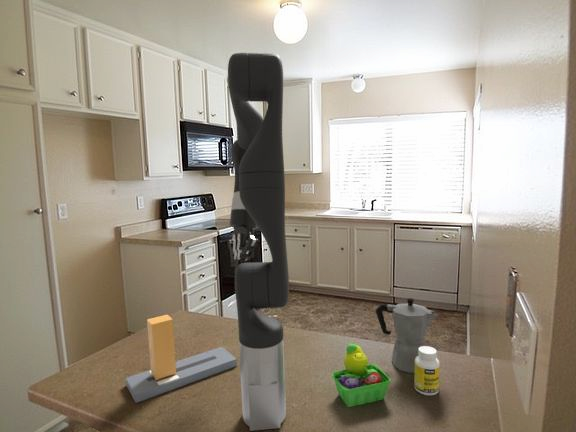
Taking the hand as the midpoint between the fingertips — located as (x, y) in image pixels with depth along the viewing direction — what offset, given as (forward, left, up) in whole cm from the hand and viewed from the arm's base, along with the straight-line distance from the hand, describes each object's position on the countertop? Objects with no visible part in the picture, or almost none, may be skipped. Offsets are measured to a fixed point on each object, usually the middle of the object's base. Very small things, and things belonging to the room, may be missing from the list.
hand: (239, 274), depth 99 cm
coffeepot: (-7, -43, -25) cm, 50 cm away
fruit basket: (-19, -27, -25) cm, 41 cm away
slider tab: (-7, +20, -22) cm, 30 cm away
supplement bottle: (-19, -43, -25) cm, 53 cm away
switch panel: (-4, +15, -25) cm, 29 cm away
